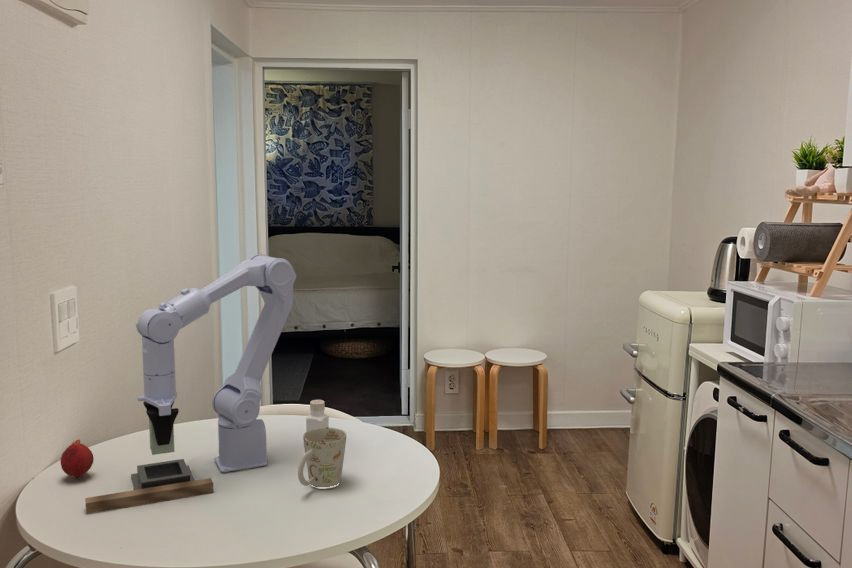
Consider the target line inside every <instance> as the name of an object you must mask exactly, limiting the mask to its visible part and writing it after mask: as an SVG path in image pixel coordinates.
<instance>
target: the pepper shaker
mask: <svg viewBox="0 0 852 568" xmlns="http://www.w3.org/2000/svg"><path fill="white" fill-rule="evenodd" d="M325 402H326V401H324V400H322V399H313V400H311V401H310V402H309V409H310V410H309V411H310V414H308V415H307V417H306V419H305V422H306V423H305V426H306V427H305V428H306V429H305V430H306V431H305V433H306V432H307V431H309V430H312V429H316V428H325V427H328V428H330V426H329V425H330V423H329V422H330V420H329V415H328V414H326V413H325V411H326V410H325V409H326V408H325Z"/></svg>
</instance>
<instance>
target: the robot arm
mask: <svg viewBox="0 0 852 568" xmlns="http://www.w3.org/2000/svg"><path fill="white" fill-rule="evenodd" d="M296 280H297V274H296V271H295V270H294V268H293V265H292V264H291V263H290V261H288V260H287V259H285V258H281V257H278V258H277V257H273V256H269V255H266V254H263V253H259V254H257V253H256V254H254V255H252V256H251V257H250V258H247V259H245V260H242V261H241V262H240V263H239V264H238V265H237V266H236V267H233V268H232V269H231V270H229V271H227V272H225V274H223V275H221V276H220V277H218V278H217V279H216V280H214V281H212V282H211V283H209V284H208V285H206V286H205V287H203V288H201V289H199V288H196V287H192V288H186V287H185V288H183V289H182V290H180V294H179V295H177V296H176V297H174V298H172V299H170V300H168V301H166V302H164V301H162V302H160V303H159V304H158V308H149V309H147V310H146V309H145V310H144V311H143V312H142V313H141V314H140V315H141V316H139V317H138V320H137V321H138V322H137V323H136V324H135V327H136V330H137V333H138V334H139V335H140V336H141V340H142V342H141V344H142V349H141V350H142V351H141V352H142V354H141V355H142V373H143V374H142V375H143V394H139V395H137V400H138V402H143V406H144V407H145V409H146V410H145V411H146V415H147V417H148V419H149V418H150V420H151V422H152V424H153V428H154V433H155V437H156V441H157V444H158V446H160V445H167V444H169V443H170V439H171V433H172V428H173V425H175V424H174V423H175V420H176V418H177V417H178V415H179V411H180V410H179V408H178V407H176V408H175V407H173V406H174V404H175V401H176V399H178V392H177V387H176V362H175V361H176V360H175V358H176V357H175V356H176V355H175V341H174V340H175V339H176V337H177V336H178V334H179V331H180V330H182V329H183V328H185V327H187V326H188V325H190V324H191V323H193V322H195V321H196V320H198V319H200V318H202V317H203V316H205V315H207V314H208V313H209V312H210V308H211V304H214V303H215V302H217V301H219V300H221V299H223V298H225V297H227V296H228V295H230V294H232V293H234V292H236V291H238V290H240V289H242V288H244V287H247V286H248V287H255V288H256V290H258V291H259V294H260V296H261V298H262V300H263V302H264V305H263V307H262V309H261V311H260V313H259V316H258V318H257V320H256V323H255V325H254V327H253V330H252V332H251V335H250V336H249V339H248V342H247V343H246V346H245V348H244V350H243V352H242V355H241V357H240V360H239V362H238V364H237V367H236V369H235V372H234V373H233V374H231V375H230V376H228V377H227V378H225V380H224V382H223V384H222V386H221V387H220V388H219V389H217V390H216V392H215V393H214V395H213V397H212V402H211V403H212V404H211V405H212V408H213V410H214V412H215V413H216V414H217V415H218V418H217V430H218V431H217V434H218V435H217V436H218V456H214V458H213V459H214V461H215V463H216V465H217V467H218V469H219V471H220V472H221V473H229V472H235V471H240V470H247V469H254V468H261V467H266V466H268V460H267V458H268V456H267V454H268V453H267V451H268V450H267V428H266V425H265V422H264V419H262V418H258V417H259V414H260V410H261V407H260V406H261V405H260V404H261V400H262V397H263V391H262V388H261V387H262V386H261V380H262V379H263V378H262V377H263V375H264V373H265V371H266V368H267V367H268V364H269V361H270V358H271V356H272V354H273V352H274V349H275V347H276V345H277V343H278V341H279V338H280V336H281V334H282V331H283V328H284V327H285V324H286V321H287V319H288V317H289V315H290V312H291V310H292V308H293V305H294V283H295V281H296Z"/></svg>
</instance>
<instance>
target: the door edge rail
mask: <svg viewBox="0 0 852 568" xmlns="http://www.w3.org/2000/svg"><path fill="white" fill-rule="evenodd" d="M212 493H214V481H213V480H212V477H208V478H201V479H195V480H194V481H188V482H182V483H175V484H169V485H163V486H157V487H151V488H144V489H138V490H134V489H132V490H127V491H121V492H114V493H108V494H102V495H95V496H89V497H85V499H84V500H85V501H84V502H85V514H86V515H89V514H94V513H95V514H96V513H100V512H101V513H102V512H107V511H112V510H113V511H114V510H118V509H124V508H130V507H137V506H142V505H149V504H155V503H160V502H165V501H172V500H178V499H183V498H188V497H189V498H190V497H194V496H200V495H207V494H212Z"/></svg>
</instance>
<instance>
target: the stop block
mask: <svg viewBox="0 0 852 568" xmlns="http://www.w3.org/2000/svg"><path fill="white" fill-rule="evenodd" d="M148 425H149V428H148V429H149V431H148V432H149V449H150V452H151V455H152V456H155V455H162V454H163V455H164V454H168V453H175V434H174V433H175V429H174V427H175V426H174V425H175V424H173V428H172V433H171V439H170V443H169V444H167V445H160V446H158V444H157V441H156V437H155V433H154V428H153V424H152V422H151V420H150V418H149V417H148Z"/></svg>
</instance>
